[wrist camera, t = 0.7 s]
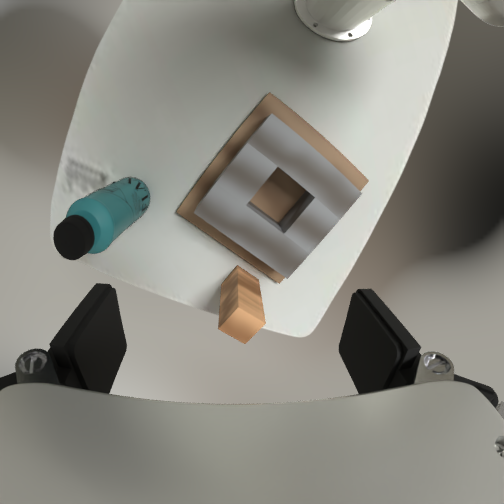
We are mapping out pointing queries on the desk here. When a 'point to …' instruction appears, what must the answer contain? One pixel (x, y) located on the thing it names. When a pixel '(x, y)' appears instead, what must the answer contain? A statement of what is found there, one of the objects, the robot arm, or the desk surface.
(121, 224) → the beverage bottle
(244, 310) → the peg
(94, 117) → the desk surface
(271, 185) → the socket board
